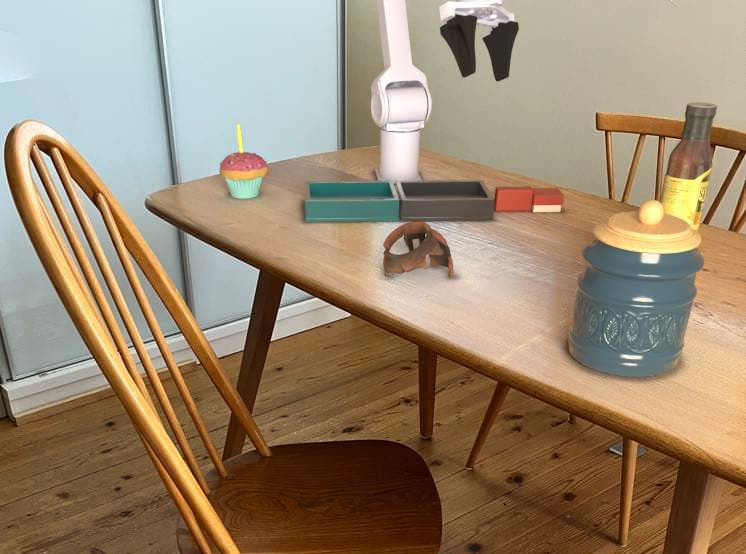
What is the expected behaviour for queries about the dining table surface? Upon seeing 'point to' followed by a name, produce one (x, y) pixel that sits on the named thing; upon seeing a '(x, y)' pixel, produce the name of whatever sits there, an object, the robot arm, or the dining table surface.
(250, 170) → the cupcake
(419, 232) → the brown openwork arch
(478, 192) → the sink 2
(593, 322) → the canister
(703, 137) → the sauce bottle
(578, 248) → the dining table surface
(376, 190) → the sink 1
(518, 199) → the brush
